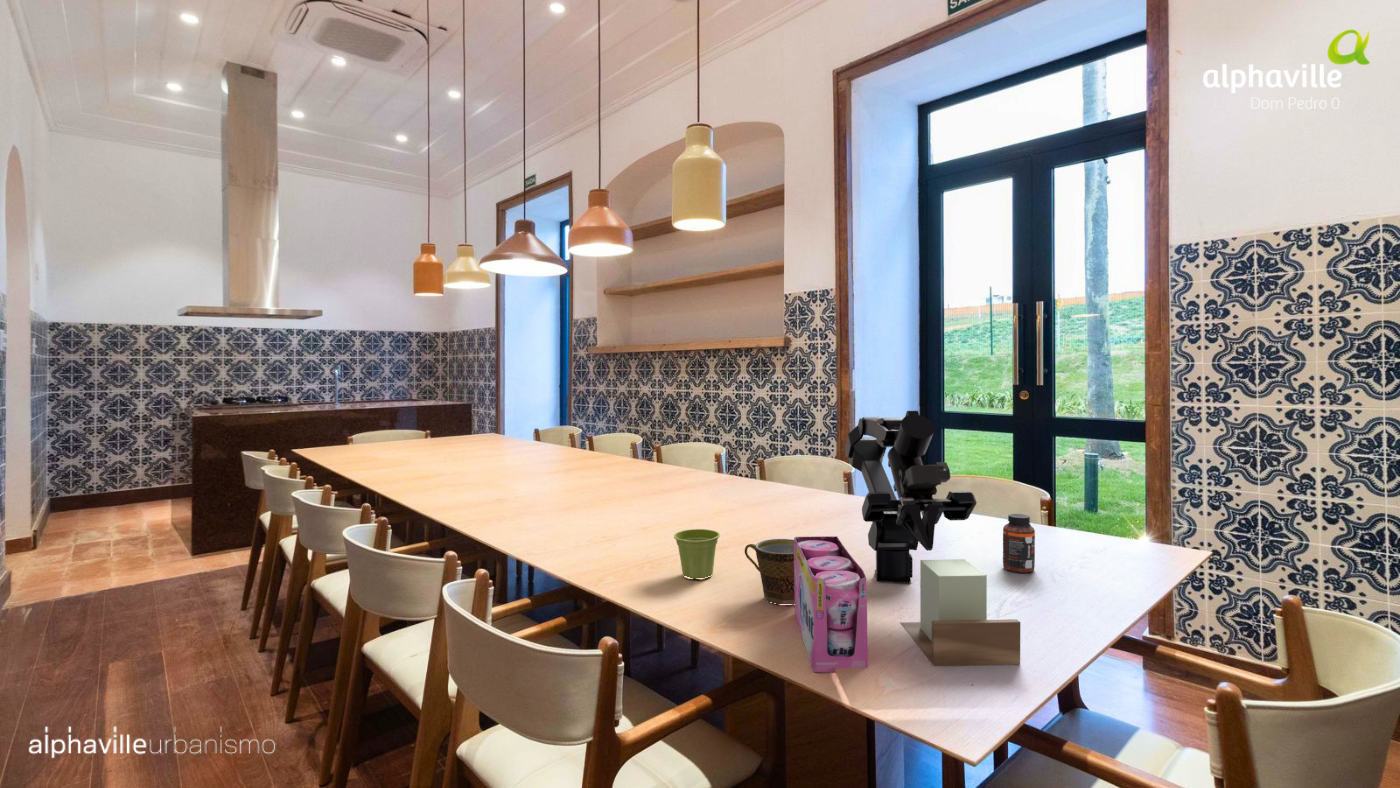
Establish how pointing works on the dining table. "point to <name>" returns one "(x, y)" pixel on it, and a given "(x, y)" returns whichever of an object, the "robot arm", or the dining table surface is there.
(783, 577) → the ceramic cup
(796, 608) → the gum box
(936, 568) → the sage block
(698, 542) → the plant pot
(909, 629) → the brown box
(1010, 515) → the supplement bottle
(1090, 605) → the dining table surface
